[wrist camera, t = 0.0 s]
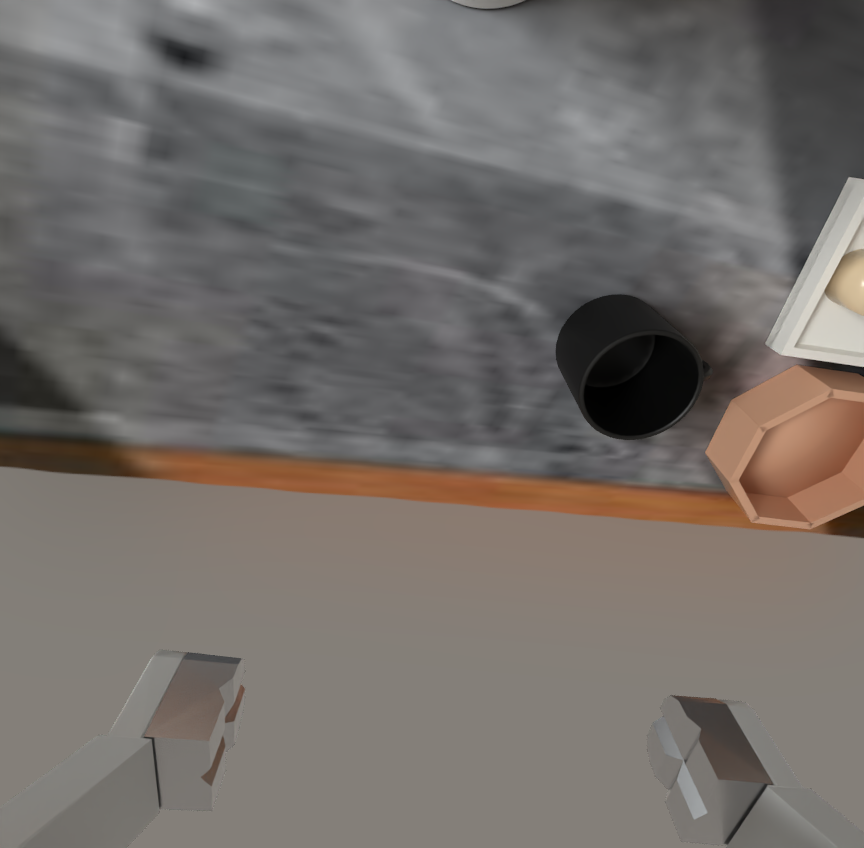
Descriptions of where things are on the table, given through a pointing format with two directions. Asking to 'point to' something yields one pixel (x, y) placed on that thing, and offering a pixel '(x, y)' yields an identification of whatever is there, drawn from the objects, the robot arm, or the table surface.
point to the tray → (808, 304)
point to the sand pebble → (848, 282)
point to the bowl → (794, 447)
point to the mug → (628, 367)
